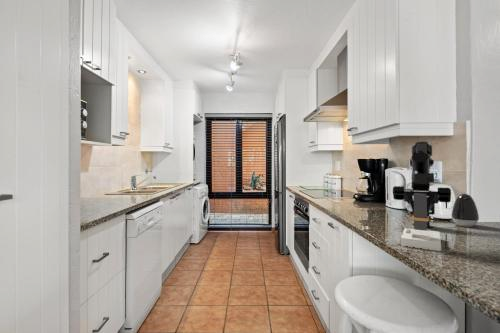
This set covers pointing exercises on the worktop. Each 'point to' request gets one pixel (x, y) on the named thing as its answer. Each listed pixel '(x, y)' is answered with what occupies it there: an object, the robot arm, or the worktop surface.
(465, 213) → the black egg-shaped dome
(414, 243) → the socket block
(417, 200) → the plug
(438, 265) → the worktop surface
